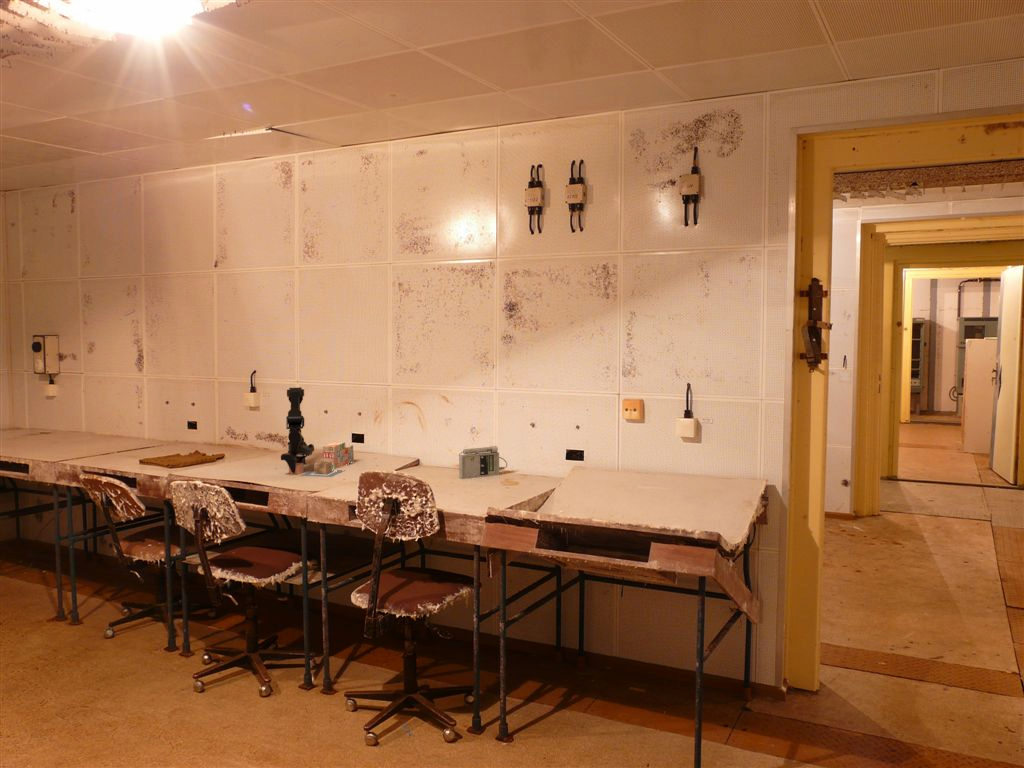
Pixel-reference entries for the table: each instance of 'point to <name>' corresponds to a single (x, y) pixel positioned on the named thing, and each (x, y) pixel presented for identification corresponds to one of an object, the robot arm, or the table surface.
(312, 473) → the board
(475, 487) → the table surface
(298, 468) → the terracotta cube
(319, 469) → the walnut base block
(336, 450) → the stack of blocks
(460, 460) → the geiger counter
